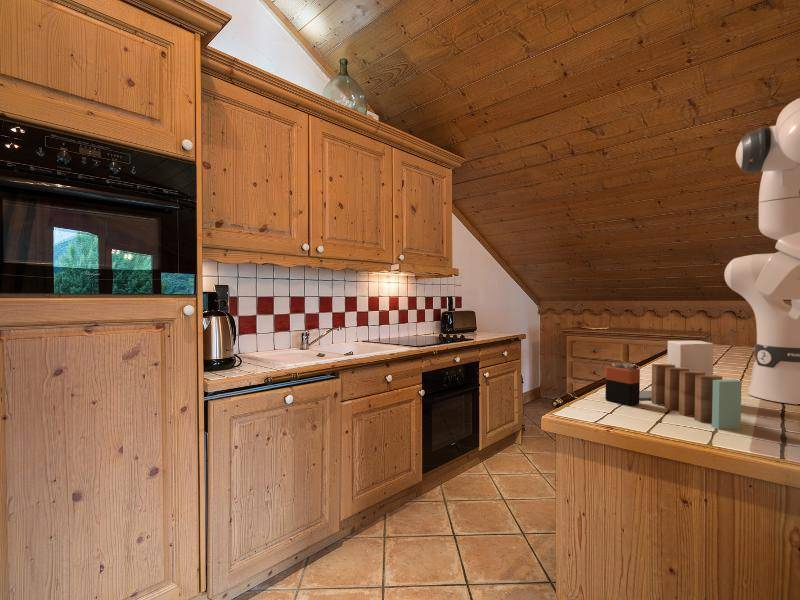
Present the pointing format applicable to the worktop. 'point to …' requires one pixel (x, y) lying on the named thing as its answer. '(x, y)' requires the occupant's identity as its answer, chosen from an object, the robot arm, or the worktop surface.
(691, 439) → the worktop surface
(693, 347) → the skincare box
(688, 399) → the domino
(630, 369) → the battery
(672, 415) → the worktop surface
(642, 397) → the pad
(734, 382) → the domino end
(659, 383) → the domino
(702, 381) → the domino
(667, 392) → the domino
